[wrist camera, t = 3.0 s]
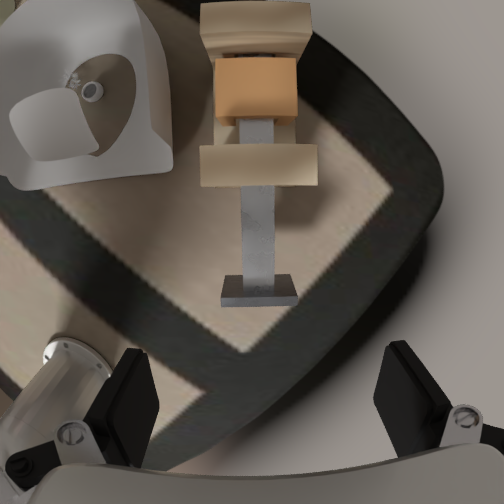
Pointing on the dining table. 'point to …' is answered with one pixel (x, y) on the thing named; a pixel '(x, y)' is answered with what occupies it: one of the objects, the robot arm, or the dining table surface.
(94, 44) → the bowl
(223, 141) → the bracket
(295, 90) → the block
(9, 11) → the can
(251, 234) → the shaft
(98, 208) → the dining table surface
